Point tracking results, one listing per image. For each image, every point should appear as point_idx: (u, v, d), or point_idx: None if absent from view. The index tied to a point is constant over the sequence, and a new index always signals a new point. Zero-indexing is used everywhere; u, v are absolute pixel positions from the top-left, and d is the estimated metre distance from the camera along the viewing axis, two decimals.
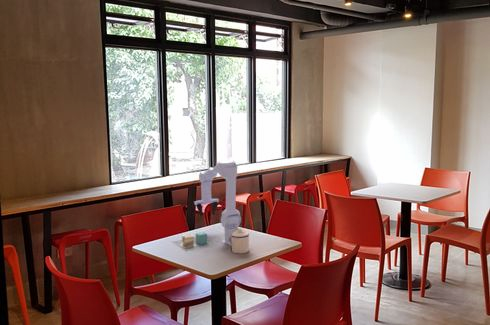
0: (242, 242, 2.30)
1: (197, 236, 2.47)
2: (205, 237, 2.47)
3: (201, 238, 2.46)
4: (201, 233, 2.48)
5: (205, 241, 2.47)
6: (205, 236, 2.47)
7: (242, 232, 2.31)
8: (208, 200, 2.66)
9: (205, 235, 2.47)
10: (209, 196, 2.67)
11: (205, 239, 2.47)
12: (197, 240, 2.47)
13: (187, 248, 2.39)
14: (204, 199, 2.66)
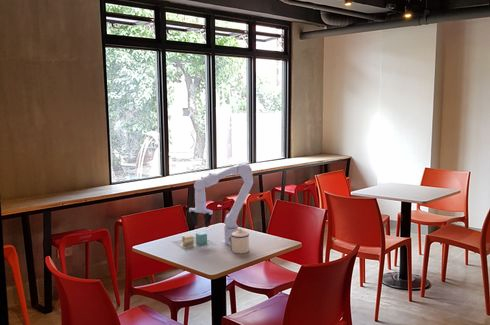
0: (242, 242, 2.30)
1: (197, 236, 2.47)
2: (205, 237, 2.47)
3: (201, 238, 2.46)
4: (201, 233, 2.48)
5: (205, 241, 2.47)
6: (205, 236, 2.47)
7: (242, 232, 2.31)
8: (197, 210, 2.45)
9: (205, 235, 2.47)
10: (198, 205, 2.44)
11: (205, 239, 2.47)
12: (197, 240, 2.47)
13: (187, 248, 2.39)
14: (195, 208, 2.47)
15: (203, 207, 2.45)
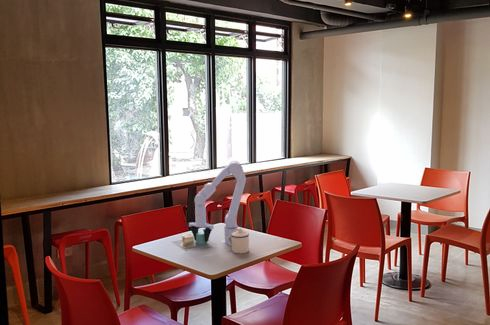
0: (242, 242, 2.30)
1: (197, 236, 2.47)
2: None
3: (201, 238, 2.46)
4: (201, 233, 2.48)
5: None
6: None
7: (242, 232, 2.31)
8: (197, 224, 2.45)
9: None
10: (199, 220, 2.44)
11: None
12: (197, 240, 2.47)
13: (187, 248, 2.39)
14: None
15: (204, 222, 2.45)
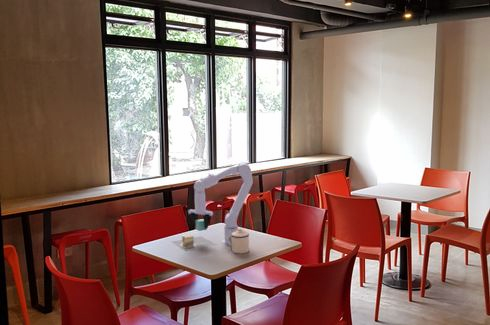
0: (242, 242, 2.30)
1: (197, 223, 2.46)
2: None
3: (201, 225, 2.45)
4: (201, 220, 2.47)
5: None
6: None
7: (242, 232, 2.31)
8: (197, 211, 2.44)
9: None
10: (198, 207, 2.43)
11: None
12: (197, 226, 2.46)
13: (187, 248, 2.39)
14: (195, 209, 2.46)
15: (203, 208, 2.44)
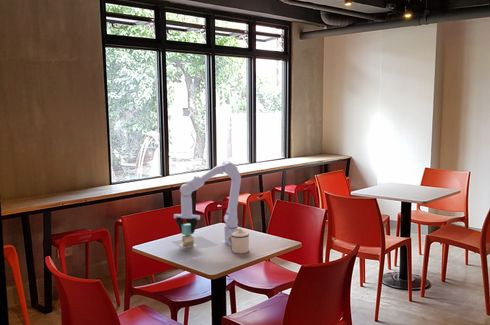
0: (242, 242, 2.30)
1: (183, 227, 2.42)
2: None
3: (188, 229, 2.41)
4: (187, 224, 2.43)
5: (191, 232, 2.43)
6: None
7: (242, 232, 2.31)
8: (184, 215, 2.40)
9: None
10: (185, 211, 2.39)
11: None
12: (183, 231, 2.42)
13: (187, 248, 2.39)
14: (181, 213, 2.41)
15: (190, 212, 2.41)
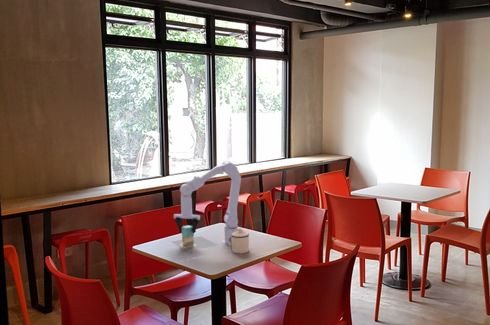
0: (242, 242, 2.30)
1: (183, 229, 2.42)
2: None
3: (188, 231, 2.41)
4: (187, 226, 2.43)
5: (192, 234, 2.43)
6: None
7: (242, 232, 2.31)
8: (184, 215, 2.40)
9: None
10: (185, 211, 2.39)
11: (192, 232, 2.43)
12: (184, 233, 2.42)
13: (187, 248, 2.39)
14: (181, 213, 2.41)
15: (190, 212, 2.41)
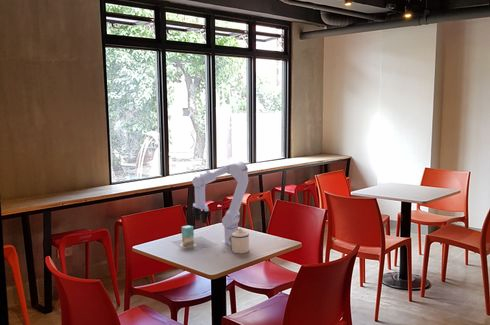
0: (242, 242, 2.30)
1: (183, 229, 2.42)
2: (192, 230, 2.43)
3: (188, 231, 2.41)
4: (187, 226, 2.43)
5: (192, 234, 2.43)
6: (192, 229, 2.43)
7: (242, 232, 2.31)
8: (195, 205, 2.53)
9: (192, 228, 2.43)
10: (196, 201, 2.53)
11: (192, 232, 2.43)
12: (184, 233, 2.42)
13: (187, 248, 2.39)
14: None
15: (201, 203, 2.52)
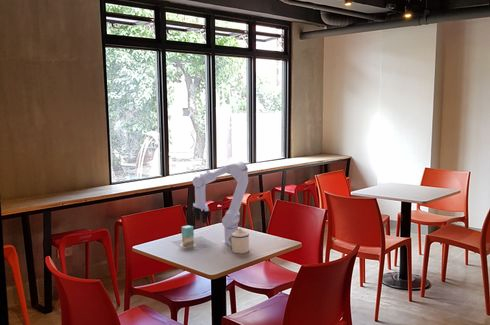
0: (242, 242, 2.30)
1: (183, 229, 2.42)
2: (192, 230, 2.43)
3: (188, 231, 2.41)
4: (187, 226, 2.43)
5: (192, 234, 2.43)
6: (192, 229, 2.43)
7: (242, 232, 2.31)
8: (195, 205, 2.54)
9: (192, 228, 2.43)
10: (196, 201, 2.53)
11: (192, 232, 2.43)
12: (184, 233, 2.42)
13: (187, 248, 2.39)
14: None
15: (201, 203, 2.52)
